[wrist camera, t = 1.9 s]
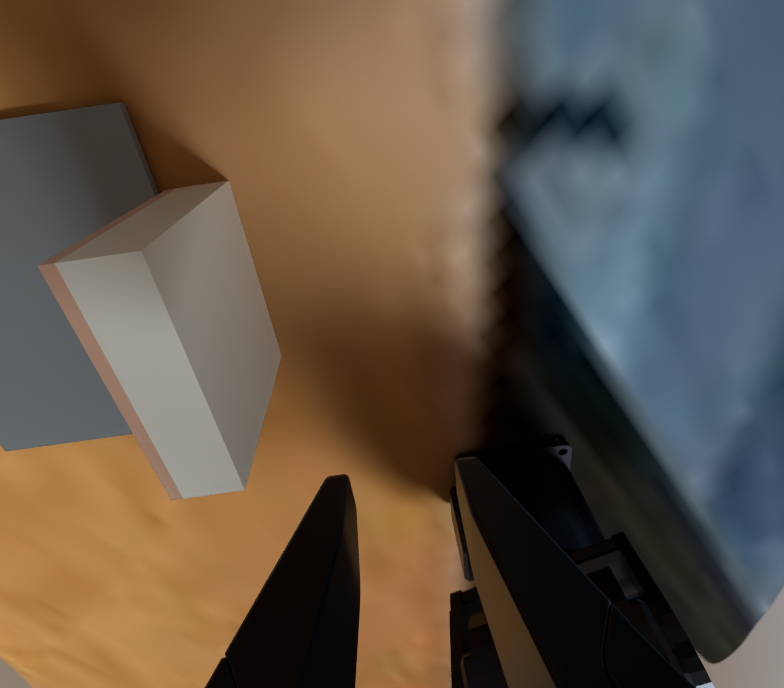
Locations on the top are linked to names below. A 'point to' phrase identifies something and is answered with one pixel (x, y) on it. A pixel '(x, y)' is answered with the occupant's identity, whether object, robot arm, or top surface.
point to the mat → (44, 240)
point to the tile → (176, 333)
